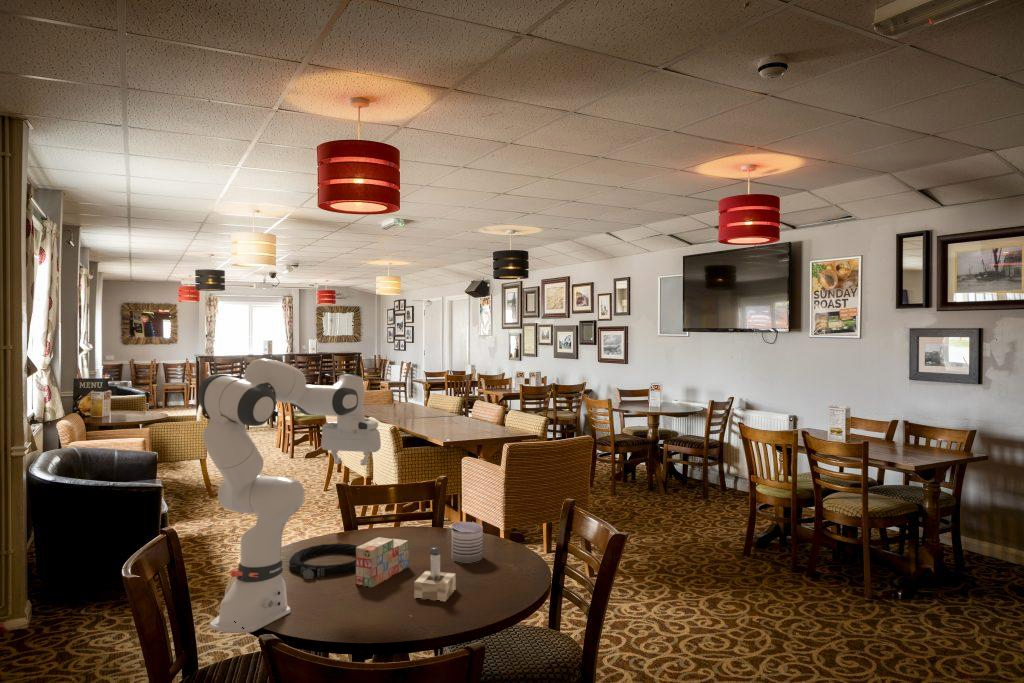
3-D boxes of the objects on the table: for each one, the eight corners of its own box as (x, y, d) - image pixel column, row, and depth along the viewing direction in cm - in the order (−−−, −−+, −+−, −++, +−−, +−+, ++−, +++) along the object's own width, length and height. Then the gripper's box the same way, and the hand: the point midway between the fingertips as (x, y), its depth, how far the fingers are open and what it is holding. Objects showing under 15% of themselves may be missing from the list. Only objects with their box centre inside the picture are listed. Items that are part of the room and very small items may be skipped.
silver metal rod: (438, 595, 204) (438, 550, 204) (428, 594, 205) (429, 549, 205) (441, 592, 207) (441, 547, 207) (432, 591, 208) (432, 546, 208)
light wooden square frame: (445, 601, 200) (445, 584, 200) (414, 598, 202) (414, 581, 202) (455, 589, 210) (455, 573, 210) (425, 586, 212) (425, 570, 212)
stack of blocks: (393, 564, 232) (394, 529, 232) (408, 567, 230) (409, 531, 230) (355, 585, 213) (355, 546, 213) (371, 588, 210) (371, 549, 210)
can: (466, 551, 247) (466, 519, 247) (489, 558, 240) (489, 524, 240) (444, 559, 238) (444, 525, 238) (467, 566, 231) (467, 531, 231)
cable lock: (382, 544, 244) (347, 572, 214) (381, 554, 244) (347, 584, 214) (312, 539, 249) (269, 566, 219) (311, 549, 249) (269, 577, 219)
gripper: (317, 422, 220) (317, 464, 220) (374, 425, 216) (374, 467, 216) (327, 420, 226) (326, 461, 226) (382, 422, 222) (382, 464, 222)
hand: (350, 464), depth 221 cm, fingers open, 8 cm apart
